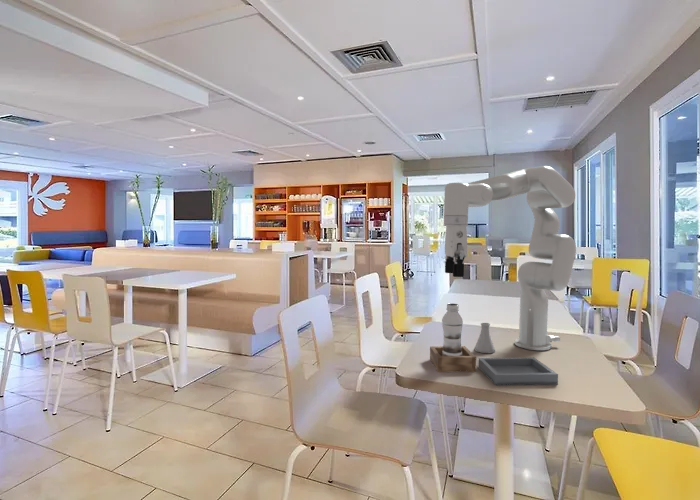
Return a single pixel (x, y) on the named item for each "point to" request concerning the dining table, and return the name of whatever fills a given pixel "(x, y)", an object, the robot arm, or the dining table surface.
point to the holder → (452, 360)
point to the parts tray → (517, 371)
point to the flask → (485, 340)
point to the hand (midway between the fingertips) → (453, 274)
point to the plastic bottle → (452, 331)
